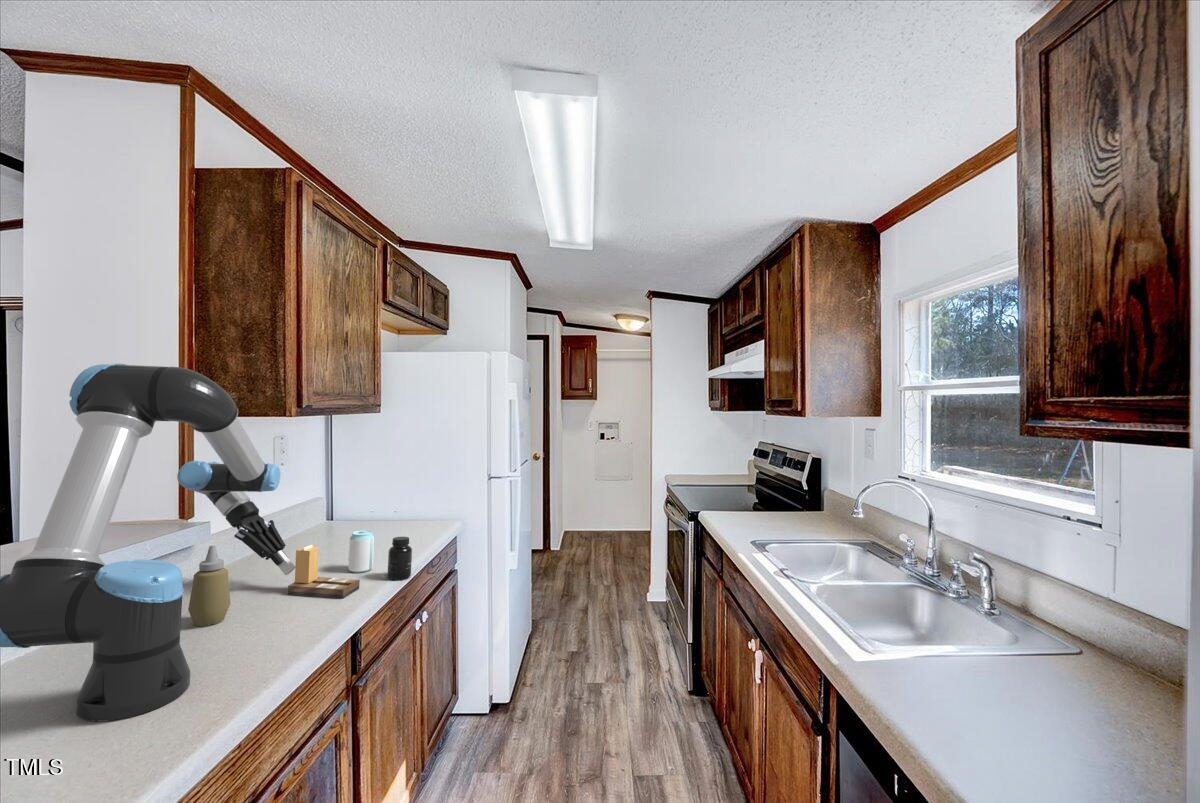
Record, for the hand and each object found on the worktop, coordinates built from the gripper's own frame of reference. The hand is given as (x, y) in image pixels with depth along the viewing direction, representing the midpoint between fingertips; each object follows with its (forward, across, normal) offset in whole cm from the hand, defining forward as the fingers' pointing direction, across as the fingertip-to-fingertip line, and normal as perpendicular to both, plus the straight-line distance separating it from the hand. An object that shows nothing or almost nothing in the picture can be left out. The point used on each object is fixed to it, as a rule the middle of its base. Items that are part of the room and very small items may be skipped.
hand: (290, 571), depth 147 cm
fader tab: (+6, 0, +1) cm, 6 cm away
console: (+11, 0, +4) cm, 11 cm away
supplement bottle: (+21, -15, +14) cm, 29 cm away
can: (+11, -19, +4) cm, 22 cm away
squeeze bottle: (+1, +23, -6) cm, 24 cm away
